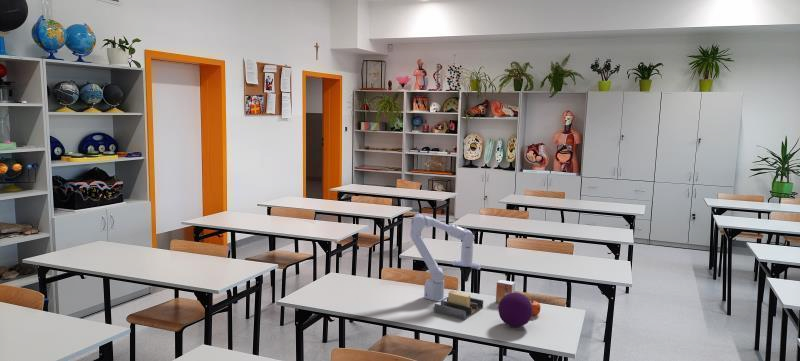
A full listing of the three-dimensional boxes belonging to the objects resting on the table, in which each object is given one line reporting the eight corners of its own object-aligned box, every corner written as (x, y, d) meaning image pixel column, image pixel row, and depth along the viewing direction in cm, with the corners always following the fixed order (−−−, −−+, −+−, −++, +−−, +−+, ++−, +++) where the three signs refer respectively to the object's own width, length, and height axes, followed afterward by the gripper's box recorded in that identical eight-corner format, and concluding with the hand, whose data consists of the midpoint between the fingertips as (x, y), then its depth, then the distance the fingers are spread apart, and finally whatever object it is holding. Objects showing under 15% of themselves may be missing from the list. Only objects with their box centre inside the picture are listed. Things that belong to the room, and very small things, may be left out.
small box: (495, 302, 285) (496, 282, 283) (498, 299, 290) (499, 279, 288) (511, 305, 281) (512, 284, 280) (514, 302, 286) (515, 281, 285)
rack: (434, 312, 269) (434, 304, 269) (453, 301, 285) (453, 293, 284) (464, 320, 260) (464, 311, 260) (482, 308, 276) (483, 300, 276)
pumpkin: (522, 316, 267) (523, 301, 266) (524, 310, 274) (524, 295, 273) (539, 318, 264) (540, 303, 263) (540, 312, 272) (541, 297, 271)
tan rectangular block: (448, 306, 274) (448, 292, 273) (451, 305, 277) (451, 291, 276) (466, 311, 269) (467, 297, 268) (469, 309, 271) (470, 295, 270)
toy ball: (532, 321, 260) (534, 289, 258) (531, 334, 246) (533, 300, 244) (498, 318, 264) (500, 286, 262) (496, 330, 250) (497, 297, 248)
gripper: (450, 254, 286) (449, 280, 288) (477, 258, 279) (476, 285, 280) (456, 251, 292) (455, 277, 294) (482, 255, 285) (481, 281, 286)
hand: (465, 281), depth 287 cm, fingers closed
